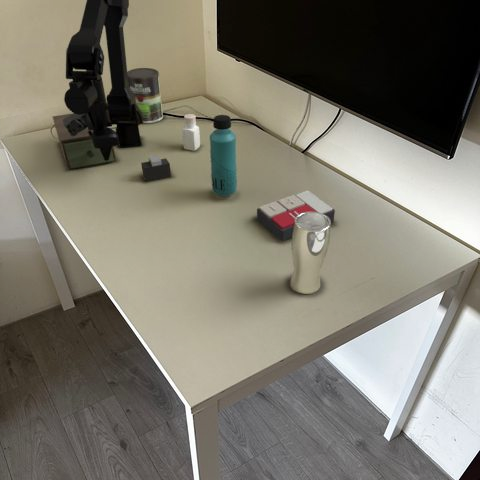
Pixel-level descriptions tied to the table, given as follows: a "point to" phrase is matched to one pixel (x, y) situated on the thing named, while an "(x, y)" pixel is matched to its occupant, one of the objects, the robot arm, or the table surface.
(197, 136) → the salt shaker
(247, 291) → the table surface
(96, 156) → the drawer
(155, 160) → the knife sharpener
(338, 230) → the table surface
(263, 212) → the grey and red box
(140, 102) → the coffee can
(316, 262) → the beer glass
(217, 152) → the beverage bottle
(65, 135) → the cabinet
